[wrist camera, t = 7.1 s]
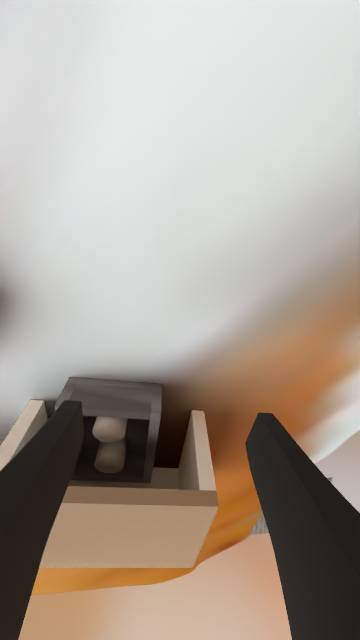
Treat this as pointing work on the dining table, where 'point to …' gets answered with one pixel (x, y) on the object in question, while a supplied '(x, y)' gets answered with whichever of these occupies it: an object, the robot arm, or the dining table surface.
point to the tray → (117, 407)
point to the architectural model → (261, 524)
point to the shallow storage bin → (129, 508)
